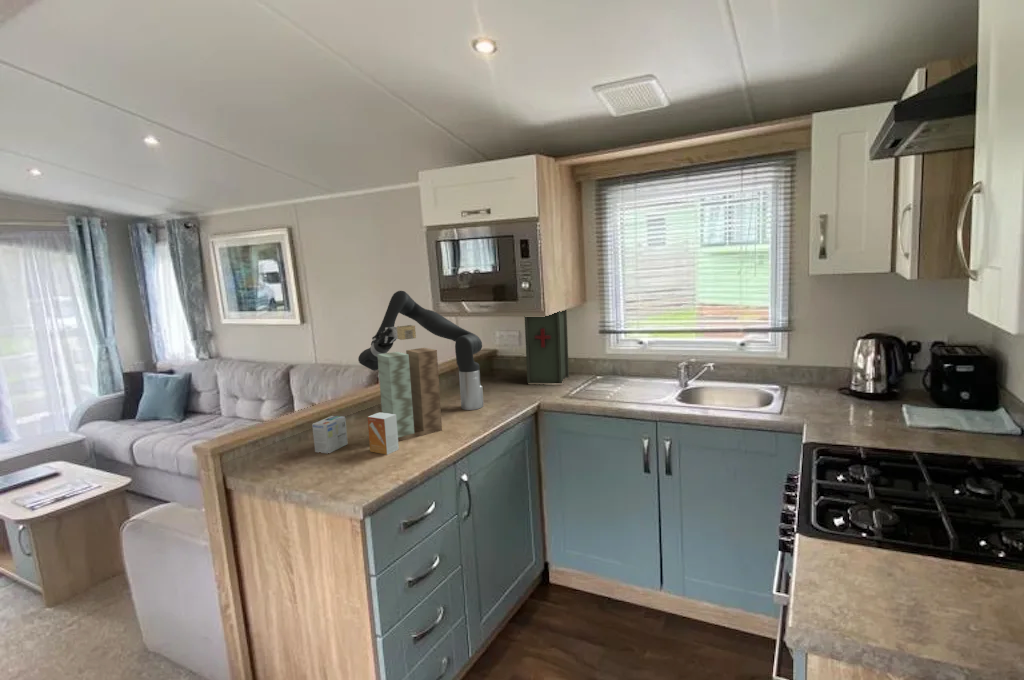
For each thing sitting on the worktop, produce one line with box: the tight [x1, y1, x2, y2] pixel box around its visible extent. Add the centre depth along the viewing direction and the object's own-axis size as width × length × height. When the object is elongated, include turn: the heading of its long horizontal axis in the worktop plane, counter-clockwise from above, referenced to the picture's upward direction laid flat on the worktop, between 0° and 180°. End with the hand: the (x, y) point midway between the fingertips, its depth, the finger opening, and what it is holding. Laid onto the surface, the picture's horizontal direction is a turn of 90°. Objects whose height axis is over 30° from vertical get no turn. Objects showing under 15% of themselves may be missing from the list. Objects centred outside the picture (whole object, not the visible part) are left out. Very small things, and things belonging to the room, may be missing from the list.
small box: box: [367, 411, 400, 456], centre depth 190 cm, size 8×6×13 cm
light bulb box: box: [311, 415, 349, 454], centre depth 196 cm, size 11×7×11 cm, turn 159°
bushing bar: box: [385, 324, 417, 341], centre depth 221 cm, size 6×18×5 cm, turn 37°
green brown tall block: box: [377, 347, 443, 442], centre depth 207 cm, size 20×10×32 cm, turn 128°
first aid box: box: [524, 309, 570, 383], centre depth 287 cm, size 18×18×40 cm
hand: (394, 328), depth 224 cm, fingers closed on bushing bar, 3 cm apart
